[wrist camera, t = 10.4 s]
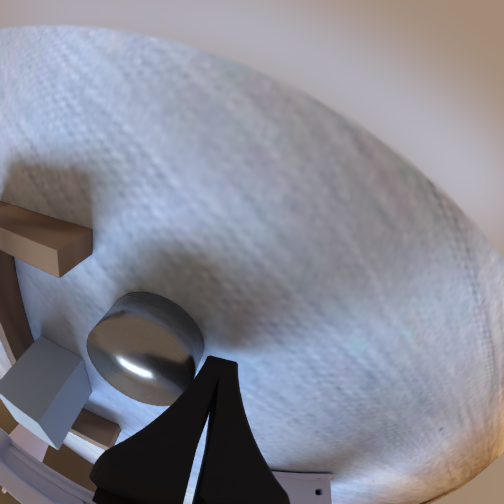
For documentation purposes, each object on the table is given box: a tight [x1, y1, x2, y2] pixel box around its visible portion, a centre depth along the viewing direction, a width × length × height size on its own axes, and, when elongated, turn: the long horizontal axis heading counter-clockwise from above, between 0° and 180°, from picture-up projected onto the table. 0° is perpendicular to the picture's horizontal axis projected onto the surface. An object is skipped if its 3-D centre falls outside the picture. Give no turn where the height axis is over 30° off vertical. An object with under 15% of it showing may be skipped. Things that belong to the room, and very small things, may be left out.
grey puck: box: [87, 292, 203, 406], centre depth 11 cm, size 5×5×2 cm
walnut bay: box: [0, 202, 121, 450], centre depth 13 cm, size 8×18×2 cm, turn 167°
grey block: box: [0, 335, 92, 450], centre depth 12 cm, size 4×4×6 cm
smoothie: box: [2, 424, 48, 493], centre depth 15 cm, size 6×6×14 cm
